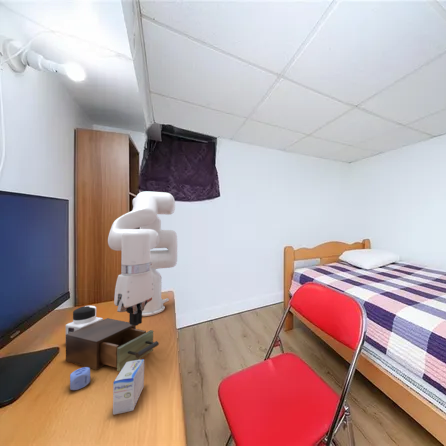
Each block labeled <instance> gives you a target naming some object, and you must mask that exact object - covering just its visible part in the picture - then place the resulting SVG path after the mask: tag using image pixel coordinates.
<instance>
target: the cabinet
mask: <svg viewBox="0 0 446 446" xmlns="http://www.w3.org/2000/svg"><path fill="white" fill-rule="evenodd" d="M130 328H134V329H137V326H136V325H131V324H130V322H129V321H126V320H125V321H124V320H120V319H114V318H109V317H107V318H105V319H104V318H103V320H102V321H99V322H96V323H94V324H91V325H89V326H86V327H84V328H81V329H79V330H76V331H73V332H71V333H68V334H66V333H65V362H68V363H72V364H74V365H78V366H82V367H89V368H90V369H93V370H96V371H98V370H99V369H100V368H103V367H104V366H106V365H105V364H101V363H99V343H100V342H102V341H105V340H107V339H109V338H111V337H113V336H115V335H117V334H119V333H121V332H123V331H126V330H128V329H130Z"/></svg>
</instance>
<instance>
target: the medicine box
mask: <svg viewBox="0 0 446 446" xmlns="http://www.w3.org/2000/svg"><path fill="white" fill-rule="evenodd" d="M112 383H113V384H112V385H113V386H112V387H113V389H112V395H113V396H112V397H113V398H112V415H113V416H116V415H120V414H124V413H130V412H133V411H134V410H135V407H136V406H137V403H138V401H139V399H140V396H141V393H142V392H143V389H144V387H145V359H144V358H141V359H139V360H134V361H129V362H126V364H125V365H124V367H123V368H122V370H121V371H120V372H119V373H118V375H117V376H116V377H115V379H114V381H113V382H112Z"/></svg>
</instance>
